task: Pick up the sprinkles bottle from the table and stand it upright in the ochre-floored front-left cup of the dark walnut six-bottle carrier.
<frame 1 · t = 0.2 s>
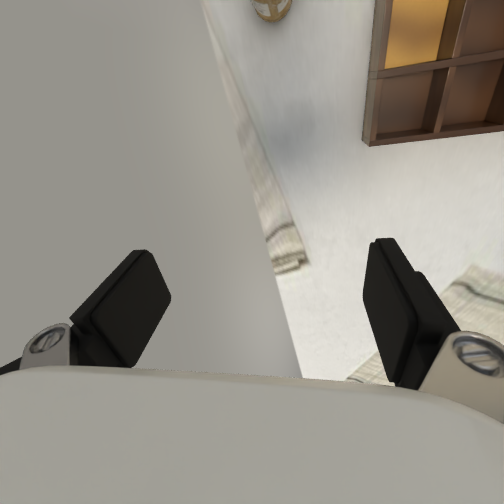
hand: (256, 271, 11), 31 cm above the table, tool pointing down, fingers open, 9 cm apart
carrier: (470, 58, 28), on the table
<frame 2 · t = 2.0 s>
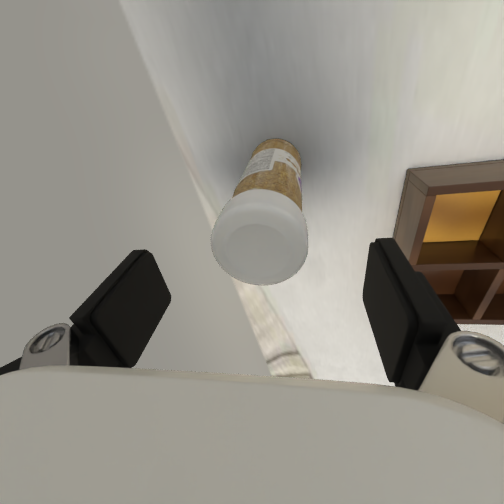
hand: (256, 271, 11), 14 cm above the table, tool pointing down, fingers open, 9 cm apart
sprinkles bottle: (275, 163, 22), on the table
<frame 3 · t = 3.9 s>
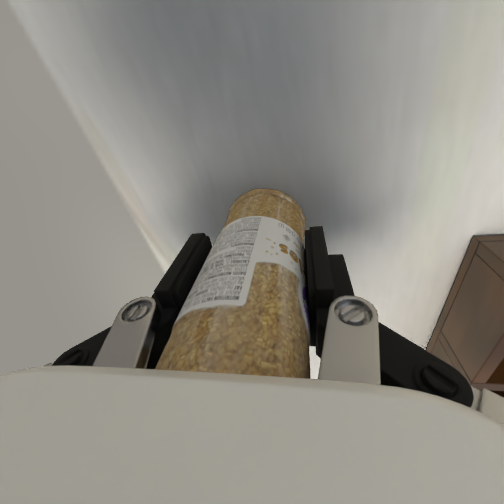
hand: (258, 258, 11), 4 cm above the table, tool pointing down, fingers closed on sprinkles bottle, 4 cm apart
sprinkles bottle: (265, 221, 14), on the table, touching gripper
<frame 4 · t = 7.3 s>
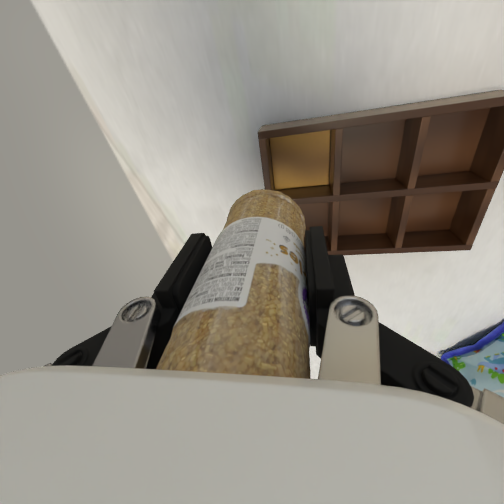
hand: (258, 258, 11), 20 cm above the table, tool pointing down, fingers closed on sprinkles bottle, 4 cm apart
sprinkles bottle: (265, 221, 15), point 17 cm above the table, touching gripper
carrier: (363, 182, 29), on the table
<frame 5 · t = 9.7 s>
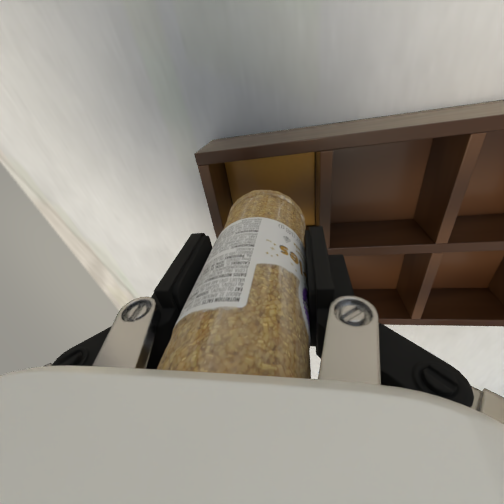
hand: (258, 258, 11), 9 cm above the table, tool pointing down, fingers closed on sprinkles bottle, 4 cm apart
sprinkles bottle: (265, 221, 15), point 6 cm above the table, touching gripper
carrier: (364, 221, 20), on the table
when the fingers open (4 cm above the table, at t = 11.2 s): sprinkles bottle stays where it is, resting on carrier.
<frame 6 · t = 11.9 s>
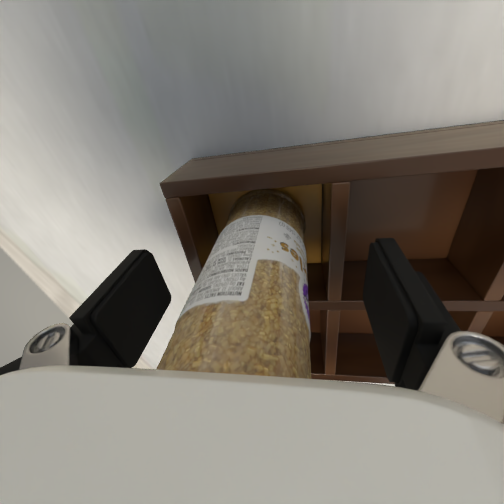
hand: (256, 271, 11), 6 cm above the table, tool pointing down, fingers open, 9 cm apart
sprinkles bottle: (266, 220, 15), point 1 cm above the table, touching carrier
carrier: (383, 258, 16), on the table
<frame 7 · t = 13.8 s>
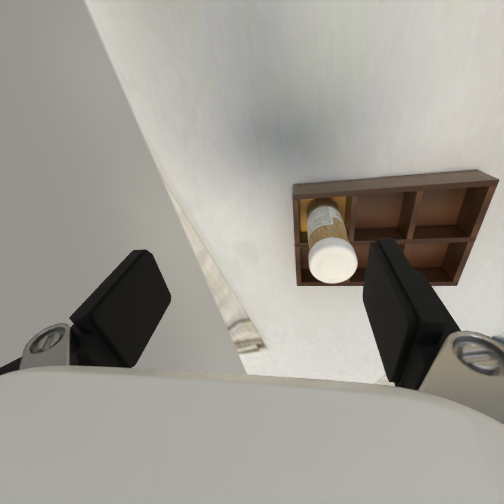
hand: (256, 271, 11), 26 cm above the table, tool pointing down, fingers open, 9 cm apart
sprinkles bottle: (321, 210, 35), point 1 cm above the table, touching carrier
carrier: (371, 228, 36), on the table
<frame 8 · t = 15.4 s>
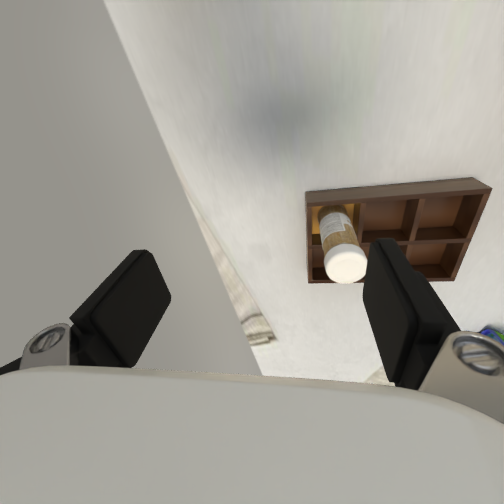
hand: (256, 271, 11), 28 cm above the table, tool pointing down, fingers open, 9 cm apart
sprinkles bottle: (331, 214, 38), point 1 cm above the table, touching carrier
carrier: (376, 230, 39), on the table
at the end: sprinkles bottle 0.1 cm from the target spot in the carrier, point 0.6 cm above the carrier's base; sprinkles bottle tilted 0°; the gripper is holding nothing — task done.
